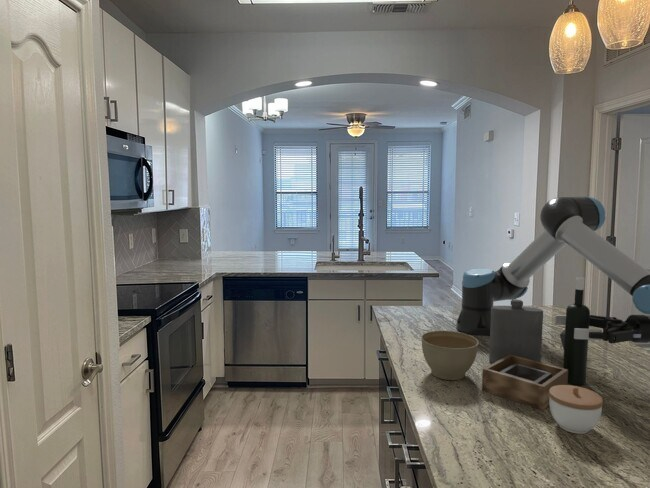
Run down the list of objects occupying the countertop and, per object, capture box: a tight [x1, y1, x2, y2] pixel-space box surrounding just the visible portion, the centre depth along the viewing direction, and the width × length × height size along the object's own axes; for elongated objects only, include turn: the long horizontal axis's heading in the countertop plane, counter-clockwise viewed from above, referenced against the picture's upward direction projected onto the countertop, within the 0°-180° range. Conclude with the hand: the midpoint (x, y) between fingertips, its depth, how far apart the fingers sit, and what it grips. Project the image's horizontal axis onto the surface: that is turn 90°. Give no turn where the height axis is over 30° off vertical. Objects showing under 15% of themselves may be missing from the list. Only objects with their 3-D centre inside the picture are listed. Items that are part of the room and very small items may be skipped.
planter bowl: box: [420, 330, 479, 381], centre depth 133 cm, size 16×16×11 cm
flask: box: [488, 298, 544, 364], centre depth 142 cm, size 15×6×20 cm, turn 76°
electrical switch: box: [559, 329, 565, 350], centre depth 149 cm, size 9×5×9 cm, turn 141°
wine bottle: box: [562, 276, 591, 387], centre depth 127 cm, size 6×6×30 cm
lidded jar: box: [549, 384, 604, 435], centre depth 103 cm, size 11×11×9 cm
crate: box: [481, 355, 568, 411], centre depth 123 cm, size 16×16×6 cm
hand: (564, 326), depth 127 cm, fingers open, 13 cm apart
